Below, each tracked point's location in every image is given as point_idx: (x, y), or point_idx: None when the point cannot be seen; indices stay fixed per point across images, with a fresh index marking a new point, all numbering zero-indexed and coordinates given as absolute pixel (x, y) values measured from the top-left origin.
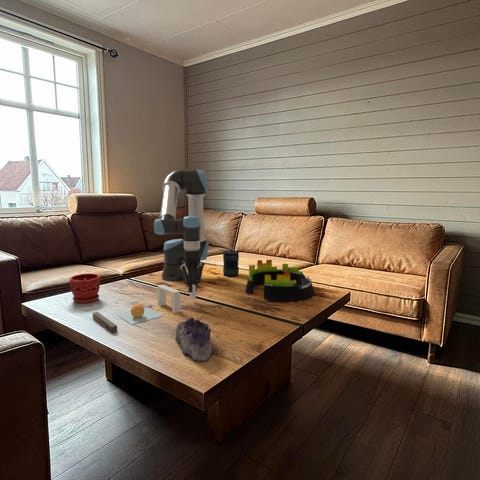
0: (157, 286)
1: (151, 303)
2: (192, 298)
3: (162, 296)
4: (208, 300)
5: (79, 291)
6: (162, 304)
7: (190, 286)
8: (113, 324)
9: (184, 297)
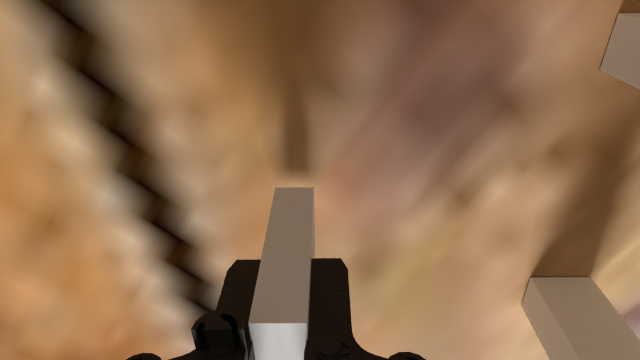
0: None
1: None
2: (313, 204)
3: (615, 352)
4: (124, 134)
5: None
6: (572, 284)
7: (344, 333)
8: None
9: None
